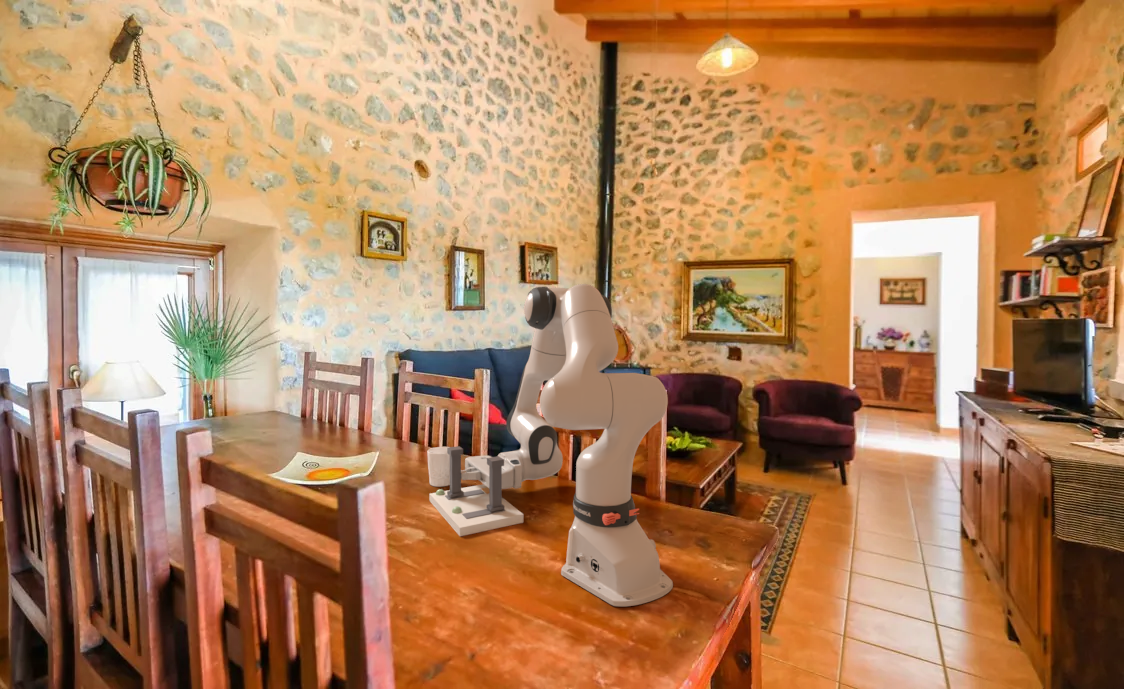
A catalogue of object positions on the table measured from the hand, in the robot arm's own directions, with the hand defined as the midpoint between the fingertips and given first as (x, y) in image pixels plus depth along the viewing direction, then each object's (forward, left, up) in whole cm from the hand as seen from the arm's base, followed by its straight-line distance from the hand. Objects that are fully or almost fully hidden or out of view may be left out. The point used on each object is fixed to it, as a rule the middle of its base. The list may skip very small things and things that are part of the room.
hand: (459, 475), depth 136 cm
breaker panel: (-7, -1, -7) cm, 10 cm away
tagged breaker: (0, +1, -5) cm, 5 cm away
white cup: (+18, 0, -8) cm, 20 cm away
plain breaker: (-14, -4, -5) cm, 15 cm away
